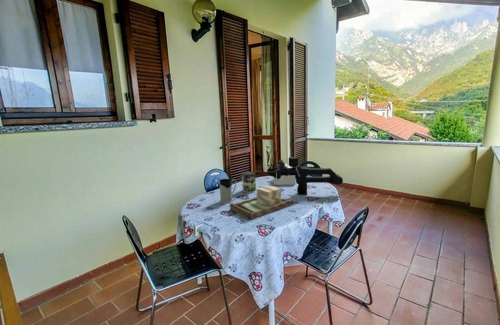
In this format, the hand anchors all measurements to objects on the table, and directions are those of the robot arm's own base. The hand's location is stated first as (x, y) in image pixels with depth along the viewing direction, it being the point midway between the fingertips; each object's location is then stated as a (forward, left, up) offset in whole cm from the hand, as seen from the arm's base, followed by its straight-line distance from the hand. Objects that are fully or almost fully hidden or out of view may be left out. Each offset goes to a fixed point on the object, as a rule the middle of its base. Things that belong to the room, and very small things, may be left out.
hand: (267, 171), depth 180 cm
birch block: (-3, +23, -14) cm, 27 cm away
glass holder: (+26, +15, -17) cm, 34 cm away
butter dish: (-12, -31, -17) cm, 37 cm away
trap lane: (+1, +26, -16) cm, 31 cm away
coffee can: (+15, -6, -17) cm, 23 cm away
